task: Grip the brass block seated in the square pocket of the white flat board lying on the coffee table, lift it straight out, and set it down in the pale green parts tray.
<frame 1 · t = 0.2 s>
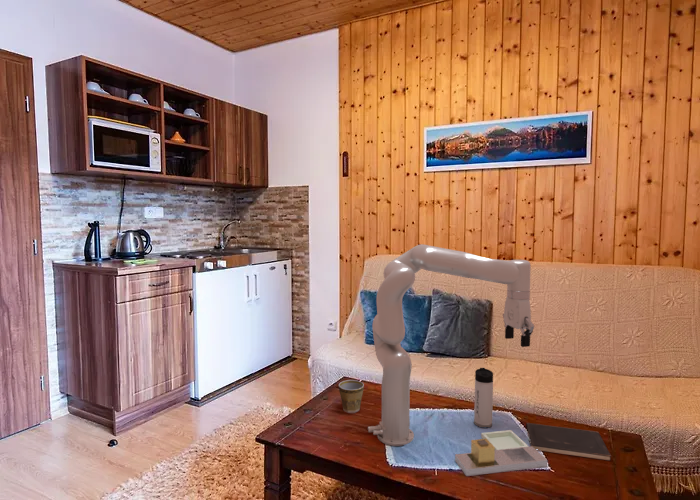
hand: (517, 342, 153), 31 cm above the table, fingers open, 9 cm apart
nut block: (482, 465, 131), resting on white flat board
travel mug: (482, 424, 157), on the table
tray: (504, 445, 143), on the table
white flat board: (500, 465, 132), on the table
ceramic cup: (351, 408, 171), on the table
hardcover book: (565, 444, 144), on the table
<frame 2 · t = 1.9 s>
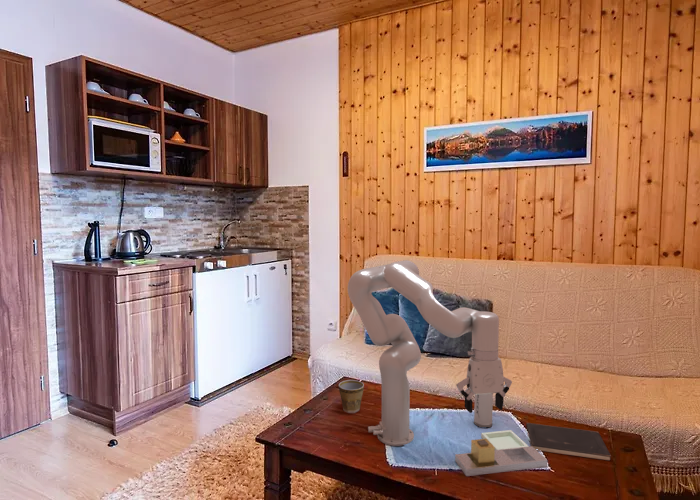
hand: (483, 409, 129), 18 cm above the table, fingers open, 9 cm apart
nothing on the table moved.
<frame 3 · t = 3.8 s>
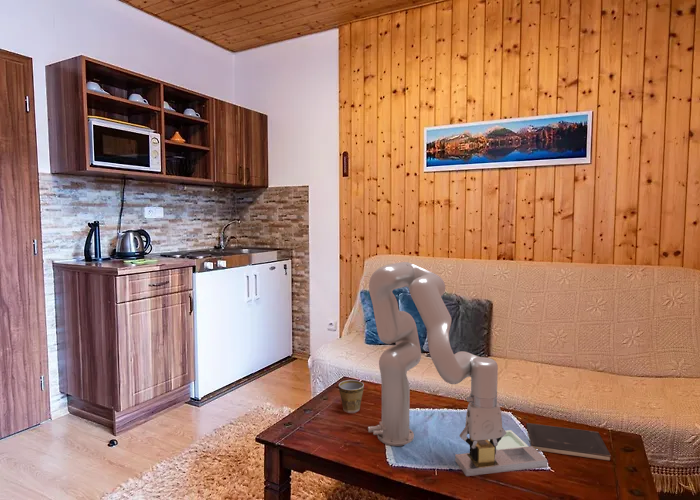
hand: (482, 457, 130), 3 cm above the table, fingers closed on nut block, 5 cm apart
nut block: (482, 465, 131), point 1 cm above the table, touching gripper, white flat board
everything else where it was.
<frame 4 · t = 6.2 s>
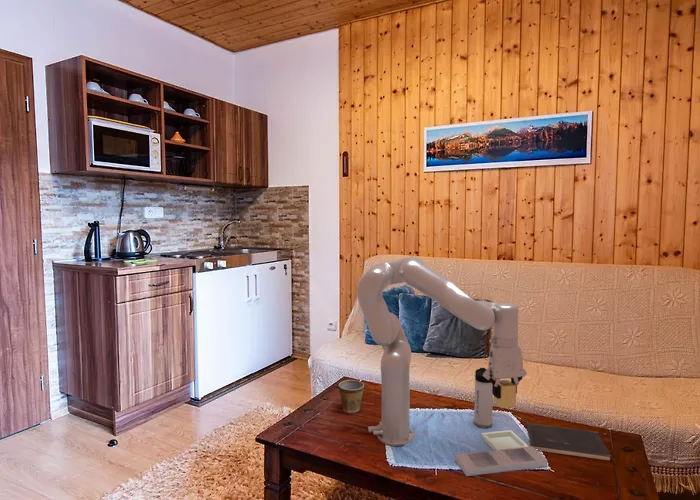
hand: (504, 395, 140), 18 cm above the table, fingers closed on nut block, 5 cm apart
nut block: (504, 403, 140), point 15 cm above the table, touching gripper
everything else where it was.
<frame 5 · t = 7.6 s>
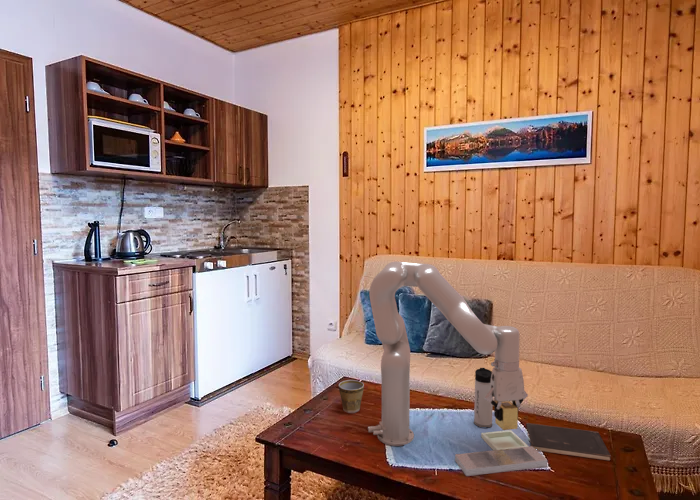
hand: (506, 417, 142), 10 cm above the table, fingers closed on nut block, 5 cm apart
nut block: (506, 425, 142), point 7 cm above the table, touching gripper
everything else where it was.
when the fingers open (5 cm above the table, at t = 8.7 s): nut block drops 1 cm, resting on tray.
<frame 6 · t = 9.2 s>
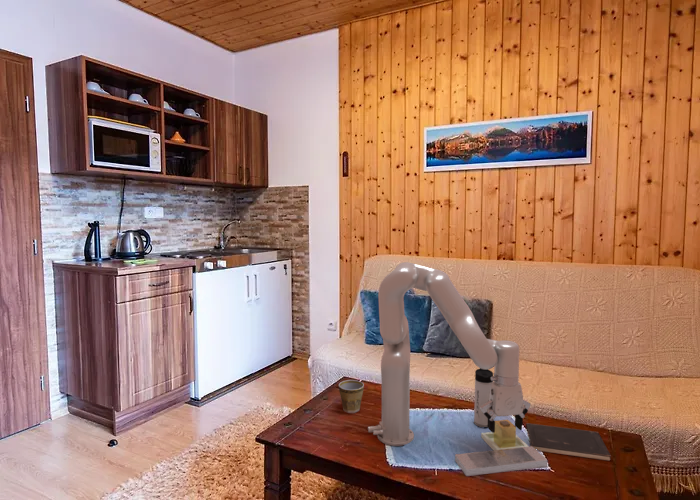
hand: (504, 429, 142), 6 cm above the table, fingers open, 9 cm apart
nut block: (504, 444, 143), resting on tray
everything else where it was.
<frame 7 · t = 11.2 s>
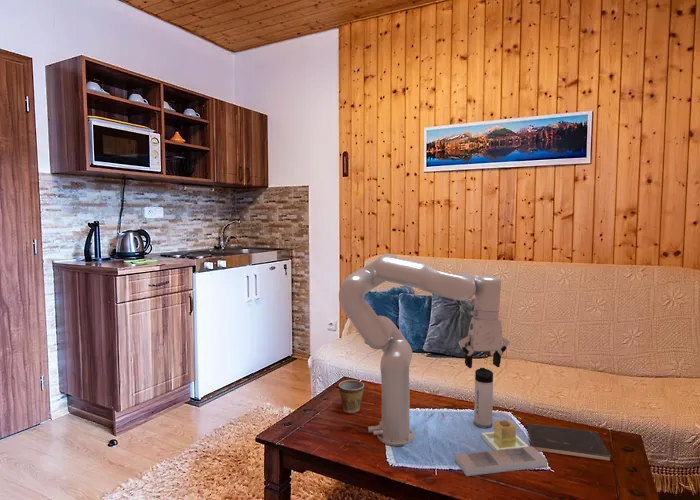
hand: (482, 366, 139), 27 cm above the table, fingers open, 9 cm apart
nothing on the table moved.
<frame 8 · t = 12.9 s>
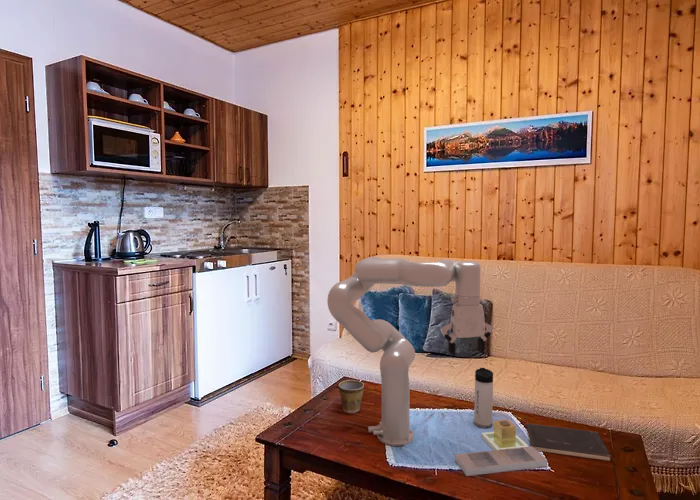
hand: (466, 353, 138), 32 cm above the table, fingers open, 9 cm apart
nothing on the table moved.
at the end: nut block inside the target area on the tray (0.1 cm from its centre), point 0.5 cm above the tray's base; the gripper is holding nothing; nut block tilted 0° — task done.
